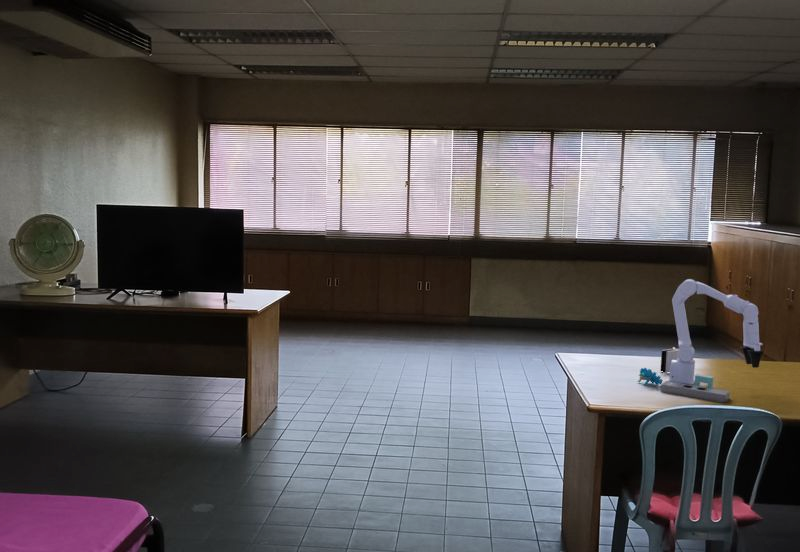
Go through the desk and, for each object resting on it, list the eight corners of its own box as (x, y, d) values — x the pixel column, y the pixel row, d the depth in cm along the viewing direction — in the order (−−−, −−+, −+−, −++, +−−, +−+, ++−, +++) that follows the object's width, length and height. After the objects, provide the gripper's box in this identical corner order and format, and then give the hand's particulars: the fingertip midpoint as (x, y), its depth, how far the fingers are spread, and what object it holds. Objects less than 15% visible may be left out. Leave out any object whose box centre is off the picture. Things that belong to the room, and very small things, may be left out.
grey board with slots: (660, 391, 277) (661, 384, 276) (666, 387, 283) (666, 380, 283) (724, 402, 262) (725, 395, 262) (729, 398, 269) (729, 391, 269)
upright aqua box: (694, 389, 281) (695, 375, 281) (695, 388, 284) (696, 374, 283) (710, 392, 277) (711, 378, 277) (712, 391, 280) (713, 376, 279)
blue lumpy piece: (668, 383, 284) (654, 367, 282) (660, 394, 282) (646, 378, 280) (648, 380, 294) (635, 365, 292) (641, 391, 292) (627, 375, 290)
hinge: (671, 367, 322) (673, 346, 321) (682, 370, 318) (684, 348, 317) (658, 372, 312) (660, 350, 311) (670, 374, 308) (671, 352, 307)
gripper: (767, 335, 274) (769, 368, 275) (755, 330, 288) (756, 362, 289) (749, 335, 275) (750, 369, 276) (737, 330, 290) (739, 362, 290)
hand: (752, 365), depth 282 cm, fingers open, 7 cm apart
